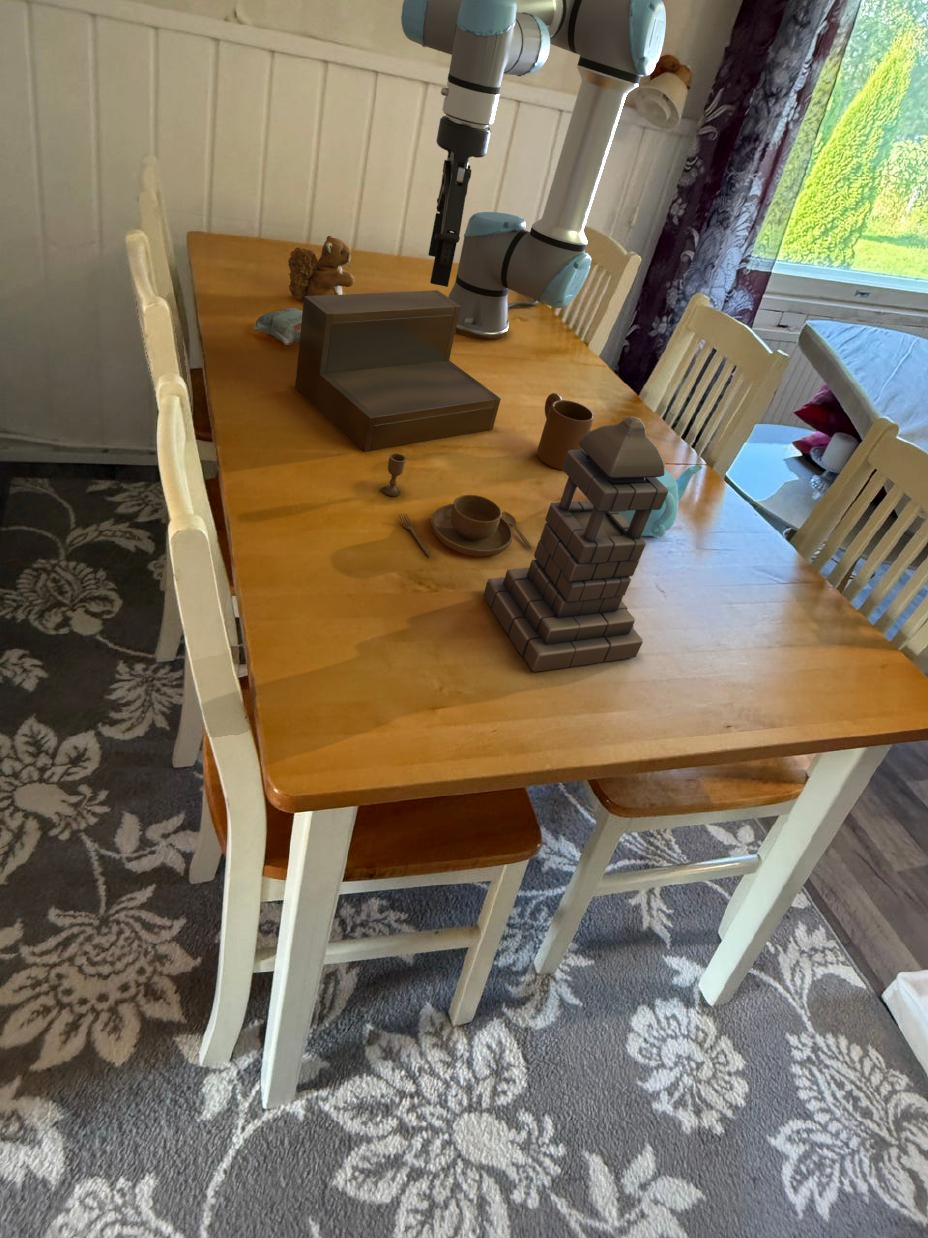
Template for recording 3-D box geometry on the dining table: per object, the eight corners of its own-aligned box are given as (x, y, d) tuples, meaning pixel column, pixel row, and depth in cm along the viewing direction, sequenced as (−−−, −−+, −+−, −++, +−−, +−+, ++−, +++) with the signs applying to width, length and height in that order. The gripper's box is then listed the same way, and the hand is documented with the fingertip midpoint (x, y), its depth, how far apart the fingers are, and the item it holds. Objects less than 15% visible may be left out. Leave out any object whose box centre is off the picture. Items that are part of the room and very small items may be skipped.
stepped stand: (492, 429, 151) (515, 342, 141) (364, 451, 135) (379, 356, 125) (421, 373, 162) (437, 289, 152) (294, 388, 146) (303, 295, 136)
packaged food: (329, 341, 164) (331, 316, 161) (285, 354, 156) (287, 328, 153) (295, 325, 167) (297, 299, 164) (251, 336, 159) (252, 310, 156)
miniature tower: (531, 674, 103) (610, 456, 84) (481, 596, 112) (543, 385, 94) (639, 658, 110) (735, 453, 91) (584, 586, 119) (660, 388, 101)
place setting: (432, 568, 115) (441, 532, 111) (375, 487, 127) (381, 452, 124) (539, 554, 123) (551, 520, 120) (476, 479, 136) (485, 447, 132)
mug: (518, 435, 151) (532, 386, 145) (556, 436, 154) (571, 387, 148) (546, 471, 143) (562, 420, 137) (585, 471, 146) (602, 421, 140)
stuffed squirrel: (348, 317, 176) (356, 252, 167) (279, 302, 174) (284, 235, 166) (353, 301, 183) (362, 237, 175) (288, 286, 182) (293, 221, 174)
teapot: (579, 525, 133) (601, 464, 125) (609, 487, 143) (631, 428, 136) (654, 560, 130) (681, 500, 123) (678, 518, 140) (705, 460, 133)
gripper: (438, 99, 131) (413, 241, 145) (444, 132, 112) (415, 292, 125) (485, 110, 133) (457, 250, 146) (499, 145, 114) (464, 302, 127)
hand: (437, 270), depth 136 cm, fingers open, 13 cm apart
